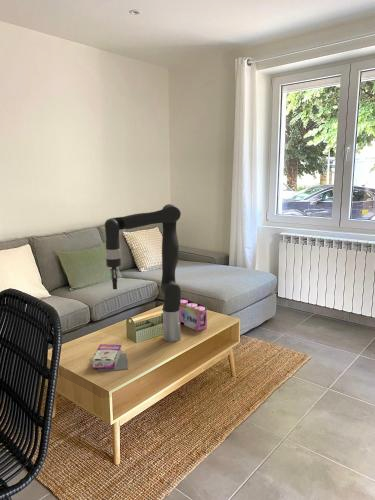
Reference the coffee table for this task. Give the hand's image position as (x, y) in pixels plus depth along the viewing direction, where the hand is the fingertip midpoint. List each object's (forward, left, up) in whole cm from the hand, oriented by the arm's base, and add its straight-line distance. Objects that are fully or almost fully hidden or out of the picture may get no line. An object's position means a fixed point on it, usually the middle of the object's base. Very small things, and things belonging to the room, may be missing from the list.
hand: (115, 288), depth 206 cm
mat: (+3, +21, -32) cm, 38 cm away
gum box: (-45, -19, -32) cm, 58 cm away
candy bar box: (+3, +11, -29) cm, 31 cm away
